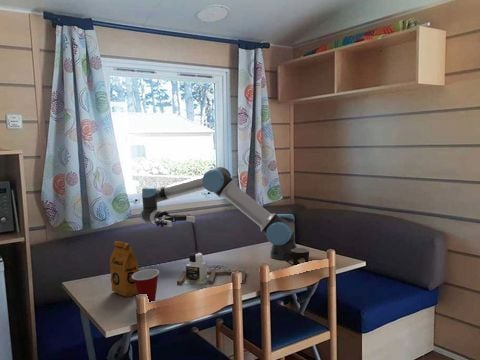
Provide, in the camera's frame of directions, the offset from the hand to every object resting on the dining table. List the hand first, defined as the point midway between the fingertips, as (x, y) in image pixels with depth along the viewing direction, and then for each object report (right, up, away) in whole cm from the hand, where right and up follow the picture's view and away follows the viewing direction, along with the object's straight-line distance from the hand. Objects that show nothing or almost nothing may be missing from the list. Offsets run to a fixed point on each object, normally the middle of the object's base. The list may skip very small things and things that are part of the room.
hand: (183, 221), depth 204 cm
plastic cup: (-9, -29, -37) cm, 48 cm away
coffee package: (-21, -28, -26) cm, 43 cm away
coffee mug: (+55, -23, -4) cm, 60 cm away
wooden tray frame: (+15, -25, -12) cm, 32 cm away
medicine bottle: (+8, -25, -11) cm, 29 cm away
